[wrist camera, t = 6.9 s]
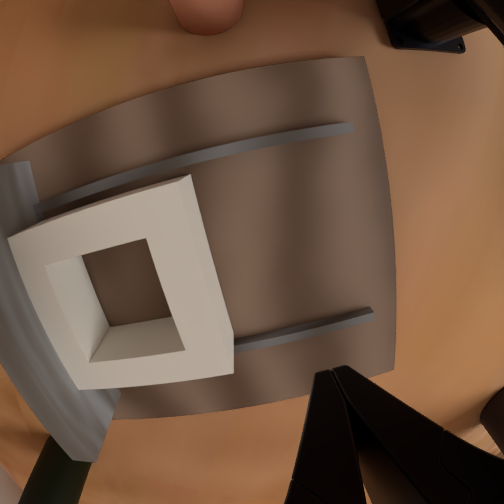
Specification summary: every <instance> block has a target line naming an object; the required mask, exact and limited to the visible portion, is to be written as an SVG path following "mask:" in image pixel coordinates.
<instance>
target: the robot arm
mask: <svg viewBox="0 0 504 504" xmlns="http://www.w3.org/2000/svg"><path fill="white" fill-rule="evenodd" d="M376 3H377V5H378V8H379V11H380V14H381V17H382V18H383V20H384V22H385V25H386V28H387V31H388V34H389V38H390V41H391V43H392V45H393V46H394V47H395V48H396V49H407V50H425V51H438V52H448V53H457V54H461V53H464V52H465V50H466V49H465V45H464V41H463V38H462V36H464V35H466V34H469V33H472V32H475V31H478V30H481V29H484V28H487V27H488V28H489V29H490V30H491V32H492V33H493V34H494V35H495V36H496V37H497V39H498V40H499V41H500V42H501V43H502V45H503V46H504V0H376ZM397 39H398V40H399V41H400V42H401V44H399V43H398V42H397ZM458 46H459V47H460V48H459V47H458ZM363 484H364V486H365V488H366V491H367V493H368V495H369V497H370V500H371V502H372V504H504V459H502V458H500V457H497V456H495V455H492V454H490V453H488V452H486V451H484V450H482V449H480V448H477V447H475V446H473V445H472V444H470V443H468V442H466V441H465V440H463V439H461V438H459V437H457V436H456V435H454V434H453V433H451V432H449V431H448V430H445V431H444V428H443V427H441V426H440V425H438V424H436V423H435V422H433V421H432V420H430V419H429V418H427V417H425V416H424V415H422V414H421V413H419V412H418V411H416V410H414V409H413V408H411V407H410V406H408V405H407V404H405V403H404V402H402V401H401V400H399V399H398V398H396V397H394V396H393V395H391V394H390V393H388V392H387V391H385V390H384V389H382V388H381V387H379V386H378V385H376V384H375V383H373V382H372V381H370V380H369V379H367V378H366V377H364V376H363V375H361V374H360V373H359V372H357V371H356V370H354V369H353V368H351V367H350V366H348V365H342V366H338V367H334V368H332V369H331V370H329V369H327V370H323V371H319V372H316V373H315V374H314V377H313V383H312V388H311V393H310V398H309V403H308V408H307V413H306V418H305V423H304V427H303V432H302V436H301V441H300V445H299V450H298V454H297V458H296V462H295V466H294V470H293V474H292V480H291V481H290V485H289V489H288V492H287V496H286V499H285V502H284V504H367V503H366V497H365V492H364V486H363Z"/></svg>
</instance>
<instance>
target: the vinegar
mask: <svg viewBox="0 0 504 504" xmlns="http://www.w3.org/2000/svg"><path fill="white" fill-rule="evenodd" d="M480 422H481V423H482V425H483V426H484V427H485V429H486V430H487V432H488V433H489V434H490V436H491V437H492V439H493V440H494V442H495V443H496V444H497V446H498V447H499V449H500V450H501V452H502V453H503V455H504V388H503V389H502V390H501V391H499V392H498V393H497V394H496V395H495V396H494V397H493V398H492V399H491V400H490V401H489V403H488V404H487V405H486V407H485V408H484V410H483V412H482V414H481V417H480Z"/></svg>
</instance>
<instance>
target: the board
mask: <svg viewBox="0 0 504 504" xmlns="http://www.w3.org/2000/svg"><path fill="white" fill-rule="evenodd" d="M189 174H191V178H192V182H193V186H194V190H195V194H196V198H197V202H198V206H199V210H200V214H201V217H202V221H203V225H204V229H205V233H206V237H207V240H208V244H209V248H210V251H211V255H212V259H213V262H214V266H215V270H216V273H217V277H218V281H219V284H220V288H221V291H222V295H223V298H224V302H225V305H226V309H227V312H228V316H229V319H230V322H231V326H232V329H233V333H234V373H233V374H227V375H221V376H215V377H209V378H202V379H195V380H188V381H181V382H173V383H164V384H155V385H146V386H135V387H123V388H108V389H89V390H78V388H77V387H76V385H75V384H74V382H73V380H72V379H71V377H70V375H69V374H68V372H67V370H66V369H65V367H64V365H63V363H62V362H61V360H60V358H59V356H58V354H57V353H56V351H55V349H54V347H53V345H52V343H51V341H50V339H49V338H48V336H47V334H46V332H45V330H44V328H43V326H42V323H41V321H40V319H39V317H38V315H37V313H36V311H35V309H34V306H33V304H32V302H31V300H30V297H29V295H28V293H27V290H26V288H25V285H24V283H23V281H22V278H21V276H20V273H19V270H18V268H17V265H16V262H15V260H14V257H13V254H12V251H11V248H10V245H9V242H8V239H7V238H9V237H11V236H13V235H14V234H16V233H18V232H21V231H23V230H25V229H27V228H29V227H31V226H33V225H35V224H37V223H39V222H41V221H43V220H46V219H49V218H51V217H54V216H57V215H59V214H62V213H65V212H68V211H71V210H73V209H76V208H79V207H82V206H85V205H88V204H91V203H94V202H97V201H100V200H103V199H106V198H109V197H112V196H116V195H119V194H122V193H125V192H128V191H132V190H135V189H138V188H142V187H145V186H149V185H152V184H156V183H159V182H163V181H166V180H170V179H174V178H177V177H181V176H185V175H189ZM81 256H82V259H83V261H84V264H85V267H86V270H87V272H88V275H89V278H90V280H91V283H92V285H93V288H94V290H95V293H96V295H97V298H98V300H99V303H100V305H101V307H102V310H103V312H104V314H105V317H106V319H107V321H108V323H109V326H110V327H114V326H121V325H127V324H132V323H138V322H144V321H150V320H155V319H161V318H167V317H172V314H171V311H170V308H169V305H168V303H167V300H166V297H165V294H164V291H163V288H162V286H161V283H160V280H159V277H158V274H157V271H156V268H155V265H154V262H153V259H152V255H151V252H150V249H149V246H148V243H147V240H146V238H144V239H140V240H136V241H132V242H129V243H125V244H121V245H117V246H113V247H110V248H106V249H102V250H98V251H95V252H91V253H87V254H84V255H81ZM395 343H396V265H395V245H394V231H393V218H392V208H391V198H390V189H389V181H388V173H387V166H386V159H385V153H384V147H383V141H382V135H381V129H380V124H379V119H378V114H377V109H376V104H375V99H374V95H373V90H372V86H371V82H370V78H369V74H368V70H367V66H366V62H365V58H364V56H359V57H340V58H326V59H315V60H306V61H297V62H289V63H282V64H275V65H268V66H262V67H256V68H251V69H245V70H240V71H235V72H230V73H226V74H221V75H217V76H212V77H208V78H204V79H200V80H196V81H192V82H188V83H185V84H181V85H177V86H174V87H170V88H167V89H164V90H160V91H157V92H154V93H151V94H148V95H145V96H142V97H139V98H136V99H133V100H130V101H127V102H124V103H122V104H119V105H116V106H113V107H111V108H108V109H106V110H103V111H100V112H98V113H96V114H93V115H91V116H88V117H86V118H84V119H81V120H79V121H77V122H74V123H72V124H70V125H68V126H65V127H63V128H61V129H59V130H57V131H55V132H53V133H51V134H49V135H47V136H45V137H43V138H41V139H39V140H37V141H35V142H33V143H31V144H29V145H27V146H25V147H23V148H22V149H20V150H18V151H16V152H14V153H13V154H11V155H9V156H7V157H6V158H4V159H2V160H0V363H1V364H2V366H3V368H4V369H5V371H6V373H7V374H8V376H9V377H10V379H11V381H12V382H13V384H14V385H15V387H16V388H17V390H18V391H19V393H20V394H21V396H22V397H23V399H24V400H25V402H26V403H27V404H28V406H29V407H30V409H31V410H32V411H33V413H34V414H35V415H36V417H37V418H38V419H39V421H40V422H41V423H42V424H43V426H44V427H45V428H46V430H47V431H48V432H49V433H50V434H51V436H52V437H53V438H54V439H55V441H56V442H57V443H58V444H59V445H60V446H61V448H62V449H63V450H64V451H65V452H66V453H67V454H68V455H69V457H70V458H71V459H72V460H76V461H85V462H95V463H96V461H97V458H98V455H99V453H100V450H101V447H102V444H103V441H104V438H105V436H106V433H107V430H108V427H109V425H110V422H111V420H119V419H145V418H161V417H173V416H184V415H194V414H202V413H210V412H218V411H225V410H232V409H238V408H244V407H250V406H256V405H261V404H267V403H272V402H277V401H282V400H286V399H291V398H295V397H300V396H304V395H308V394H310V393H311V388H312V383H313V377H314V374H315V373H316V372H319V371H323V370H327V369H329V370H331V369H332V368H334V367H338V366H342V365H348V366H350V367H351V368H353V369H354V370H356V371H357V372H359V373H360V374H361V375H363V376H364V377H366V378H370V377H373V376H376V375H379V374H382V373H385V372H388V371H391V370H394V363H395Z"/></svg>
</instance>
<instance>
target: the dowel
mask: <svg viewBox="0 0 504 504" xmlns="http://www.w3.org/2000/svg"><path fill="white" fill-rule="evenodd" d="M243 1H244V0H169V2H170V4H171V6H172V8H173V11H174V13H175V15H176V17H177V19H178V21H179V23H180V24H181V26H182V27H183V28H185V29H186V30H187V31H189V32H191V33H194V34H197V35H216V34H219V33H222V32H225V31H227V30H228V29H230V28H232V27H233V26H234V25H235V24H236V23H237V22H238V20H239V19H240V17H241V15H242V12H243Z"/></svg>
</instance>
